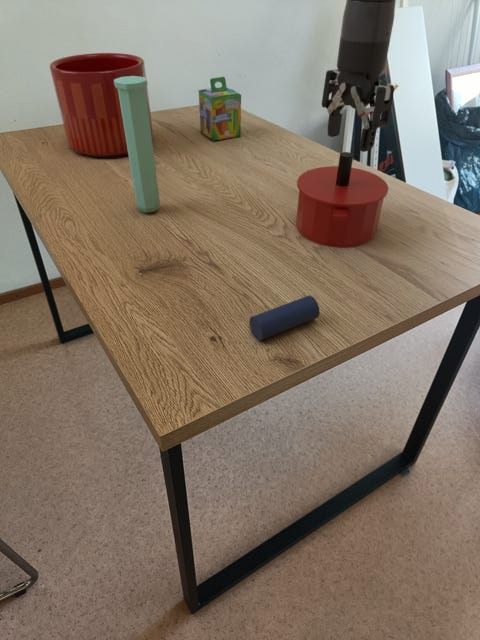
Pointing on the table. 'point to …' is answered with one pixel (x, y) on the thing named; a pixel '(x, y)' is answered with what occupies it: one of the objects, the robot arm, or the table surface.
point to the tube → (284, 317)
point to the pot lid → (342, 184)
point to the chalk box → (220, 111)
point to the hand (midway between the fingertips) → (348, 142)
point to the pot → (337, 222)
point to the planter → (94, 100)
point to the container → (139, 140)
